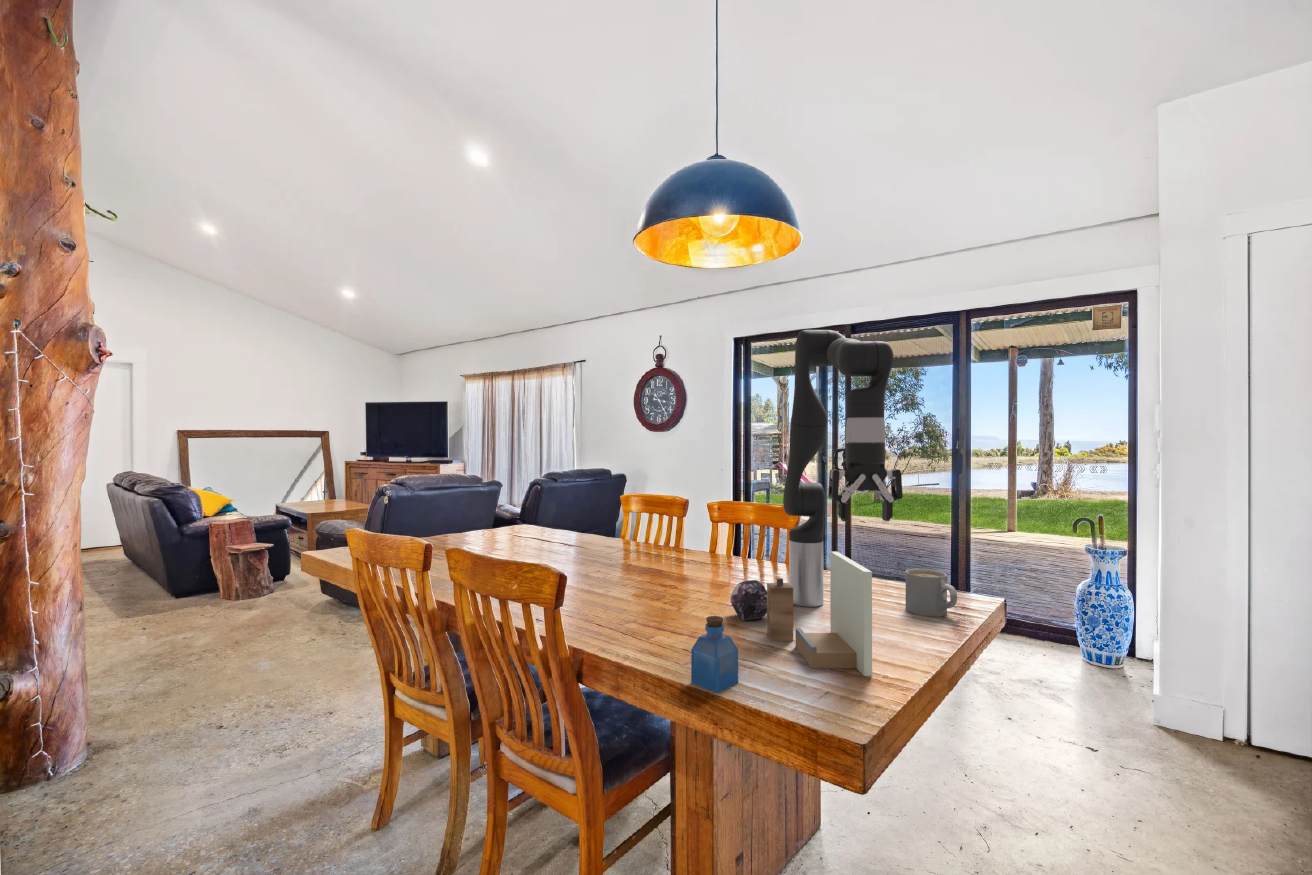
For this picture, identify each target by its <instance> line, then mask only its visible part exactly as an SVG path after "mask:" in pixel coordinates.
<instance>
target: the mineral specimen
mask: <svg viewBox="0 0 1312 875" xmlns="http://www.w3.org/2000/svg"><path fill="white" fill-rule="evenodd" d="M730 604H731V607H732V608H733V610H734V611H735V614H737V616H738V618H739V619H740V620H742V621H743V622H744V621H752V620H753V621H754V620H758V619H759V620H760V619H762V618H764V617H765V616H767V588H766V587H765V586H764V584H763V583H761V581H758V579H755V580H754V579H753V580H744V581H741V582H738V583H737V585H736V586H734V588H733V590H732V592H731V594H730Z"/></svg>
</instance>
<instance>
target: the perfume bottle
mask: <svg viewBox="0 0 1312 875" xmlns="http://www.w3.org/2000/svg"><path fill="white" fill-rule="evenodd" d="M723 621H724V617H722V616H719V615H718V616H717V615H710V616H706V623H705V626H704V627H705V631H706V633H705V634H702V635H700V636H699V637H698V638H697V639H696V641H695V643H694V645H693V646H692V648H691V651H690V653H691V655H690V656H691V657H690V660H691V662H690V664H691V665H690V666H691V670H690V671H691V672H690V674H691V675H690V677H691V678H690V681H691V684H694V685H697V686H699V687H701V688H704V689H707V690H709V691H712V692H713V693H716V694H717V693H720V692H722V691H724V690H726V689H729V688H730V687H733V686H734V685H736V684H738V683H739V648H738V647H737V646H736V643H735V642H734V641H733V640H732V638H731V636H729V635H728V634H727V635H726V634H723V633H724V632H725V624H723Z"/></svg>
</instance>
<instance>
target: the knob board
mask: <svg viewBox="0 0 1312 875" xmlns="http://www.w3.org/2000/svg"><path fill="white" fill-rule="evenodd" d="M766 591H767V613H766V635H767V637H768V639H769V640H770V641H771V642H794V604H793V587H792V586H791V585H790V584H789V582H784V578H782V577H776V582H766Z"/></svg>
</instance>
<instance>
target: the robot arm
mask: <svg viewBox="0 0 1312 875" xmlns="http://www.w3.org/2000/svg"><path fill="white" fill-rule="evenodd" d="M794 350H795V351H794V353H795V354H794V391H793V392H794V393H793V400H792V401H793V403H792V411H791V412H792V413H791V419H790V432H789V448H788V449H789V450H788V460H787V461H788V462H787V469H786V475H785V481H784V482H785V484H784V489H783V490H784V491H783V496H782V498H783V500H782V501H783V502H782V503H783V510H784V513H785V514H787V516H792V517H808V519H807V520H806V521H805V522H803V523H802V524H801V525H797V526H794V527H793V528H791V529H790V530H789V531H788V532H789V533H788V537H789V538H788V557H789V558H788V560H789V563H788V565H789V567H788V575H789V576H788V579H789V580H788V583H789V584H790V585H791V586H792V587H793V605H795V606H799V607H820V606H823V605H824V534H825V514H826V513H825V509H826V508H825V507H826V493H825V488H824V486H823V485H822V484H821V483H820V482H801V480H802V477H803V473H804V471H805V470H806V467H807V466H808V464H809V463H810V462H811V461H812V460H813V458H814V457H815V456H816V455H817V454H818V452H819V450H821V448H822V447H823V445H824V443H825V440H826V436H827V425H828V415H827V414H828V413H827V411H826V409H825V407H824V406H823V405H824V404H823V403H822V401H821V400H820V398H819V396H818V394H817V393H816V391H815V390H814V387H813V384H812V381H811V376H810V368H811V367H815V368H816V367H821V368H822V367H831V366H833V367H834V368H835V369H837V370H839V372H840V374H841V375H843V376H847V377H870V380H869V382H868V384H867V385H865V386H863V387H859V388H854V389H851V390H850V391H848V392H847V396H846V424H845V468H844V470H842V469H841V470H840V469H839V470H838V469H835V468H832V469H830V470H829V476H828V477H829V478H828V479H829V480H828V494H827V496H828V498H829V499H831V500H835V501H836V502H837V516H838V518H839V519H840V521H841V522H844V523H845V522H847V523H848V521H849V503H848V502H847V501H848V500H849V499H850V498H851V497H852V495H854V493H855V492H856V491H858V492H865V491H868V492H876V493H877V494H878V495H879V496H880V498H881V499H882V500H883V501H882V502H881V506H882V507H881V518H882V520H883V521H885V522H890V521H891V519H893V516H894V515H893V514H894V513H893V509H894V505H893V504H894V503H895V501H898V500H901V499H903V497H904V496H903V481H902V480H903V479H902V471H901V470H900V469H898V468H891V469H886V466H885V465H886V438H887V437H886V427H885V426H886V425H885V419H884V416H885V412H884V411H885V407H884V406H885V401H884V400H885V393H886V389H887V384H888V381H889V377H890V374H891V371H892V367H893V364H894V358H895V357H894V351H893V349H892V347H891V346H890V344H889V343H888V342H886V341H880V340H879V341H878V340H877V341H876V340H875V341H868V340H866V341H865V340H864V341H861V340H858V339H856V338H855V339H854V338H849V337H848V338H847V337H845V336H844V335H843V334H841V333H840V332H838V331H836V330H831V329H803V330H800V331H799V332H798V335H797V336H796V340H795V349H794ZM843 477H844V478H845V479H846V481H847V482H846V484H844V486H843V487H842V489H841V491H840V493H839V487H840V486H839V485H840V481H842V479H843ZM886 477H887V478H888V480H889V481H890V491H889V489H888V487H887V486H886V485H885V484H884V480H885V479H886ZM890 492H891V493H890Z"/></svg>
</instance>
